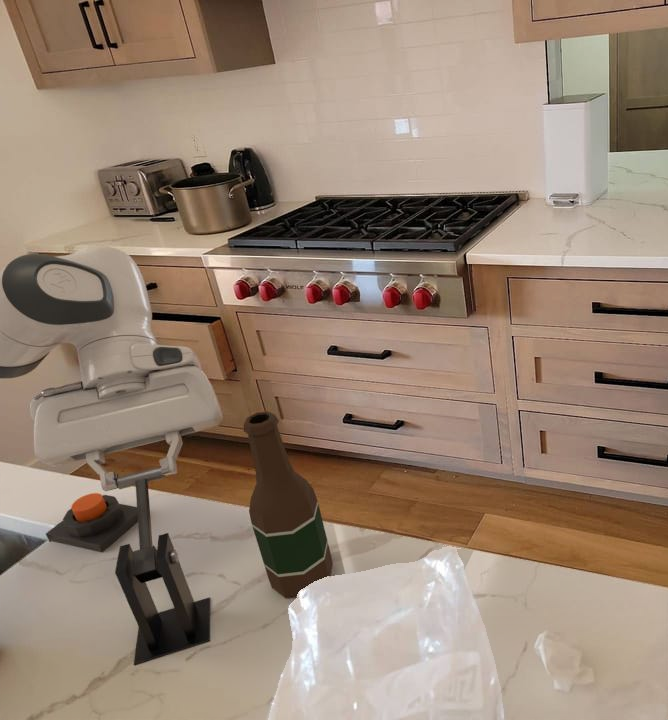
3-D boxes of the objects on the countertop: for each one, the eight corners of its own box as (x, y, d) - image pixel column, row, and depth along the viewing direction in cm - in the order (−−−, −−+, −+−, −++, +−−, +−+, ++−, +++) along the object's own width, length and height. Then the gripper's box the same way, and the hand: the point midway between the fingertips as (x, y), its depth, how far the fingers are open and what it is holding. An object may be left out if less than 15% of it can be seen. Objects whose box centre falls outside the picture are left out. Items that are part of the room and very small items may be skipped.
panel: (148, 520, 99) (139, 498, 97) (104, 558, 92) (94, 535, 90) (96, 509, 102) (87, 488, 100) (51, 545, 95) (40, 523, 94)
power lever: (121, 482, 81) (114, 473, 79) (166, 471, 82) (160, 461, 80) (127, 587, 73) (119, 579, 71) (176, 573, 75) (169, 565, 73)
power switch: (142, 625, 81) (106, 542, 75) (212, 603, 83) (182, 521, 77) (136, 671, 75) (97, 585, 69) (212, 647, 77) (180, 561, 71)
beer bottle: (314, 611, 80) (268, 441, 70) (259, 598, 83) (206, 433, 72) (346, 564, 87) (308, 403, 76) (294, 554, 89) (250, 397, 79)
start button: (113, 506, 96) (109, 495, 96) (90, 524, 93) (86, 513, 92) (92, 502, 98) (87, 491, 97) (69, 519, 94) (64, 508, 94)
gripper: (16, 384, 77) (30, 502, 74) (203, 345, 83) (226, 452, 79) (39, 400, 83) (53, 510, 79) (213, 362, 89) (234, 463, 85)
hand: (141, 481), depth 79 cm, fingers closed on power lever, 5 cm apart
